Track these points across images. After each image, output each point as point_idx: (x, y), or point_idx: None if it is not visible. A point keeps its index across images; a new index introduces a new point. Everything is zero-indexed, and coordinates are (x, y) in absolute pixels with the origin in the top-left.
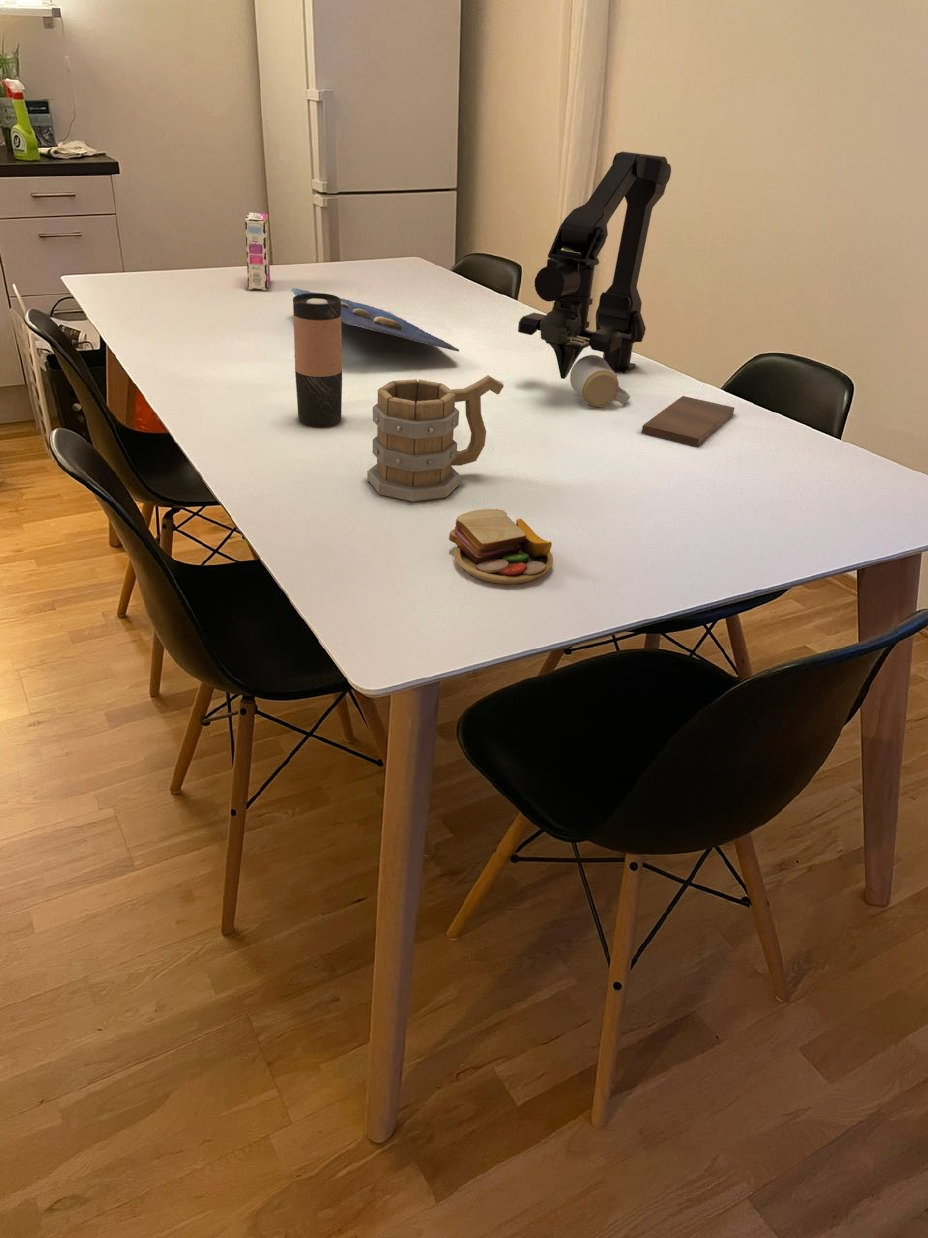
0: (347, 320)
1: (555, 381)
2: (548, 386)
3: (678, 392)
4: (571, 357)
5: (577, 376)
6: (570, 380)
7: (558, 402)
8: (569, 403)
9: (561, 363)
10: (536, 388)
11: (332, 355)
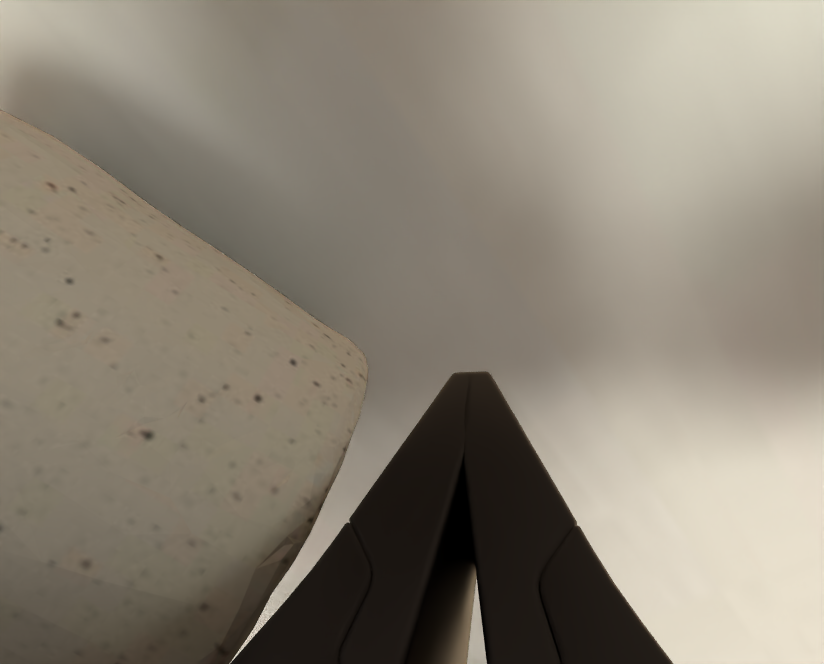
0: None
1: (652, 470)
2: (652, 356)
3: None
4: (260, 631)
5: (70, 305)
6: (354, 365)
7: (317, 24)
8: (230, 98)
9: (484, 498)
10: (736, 239)
11: None
